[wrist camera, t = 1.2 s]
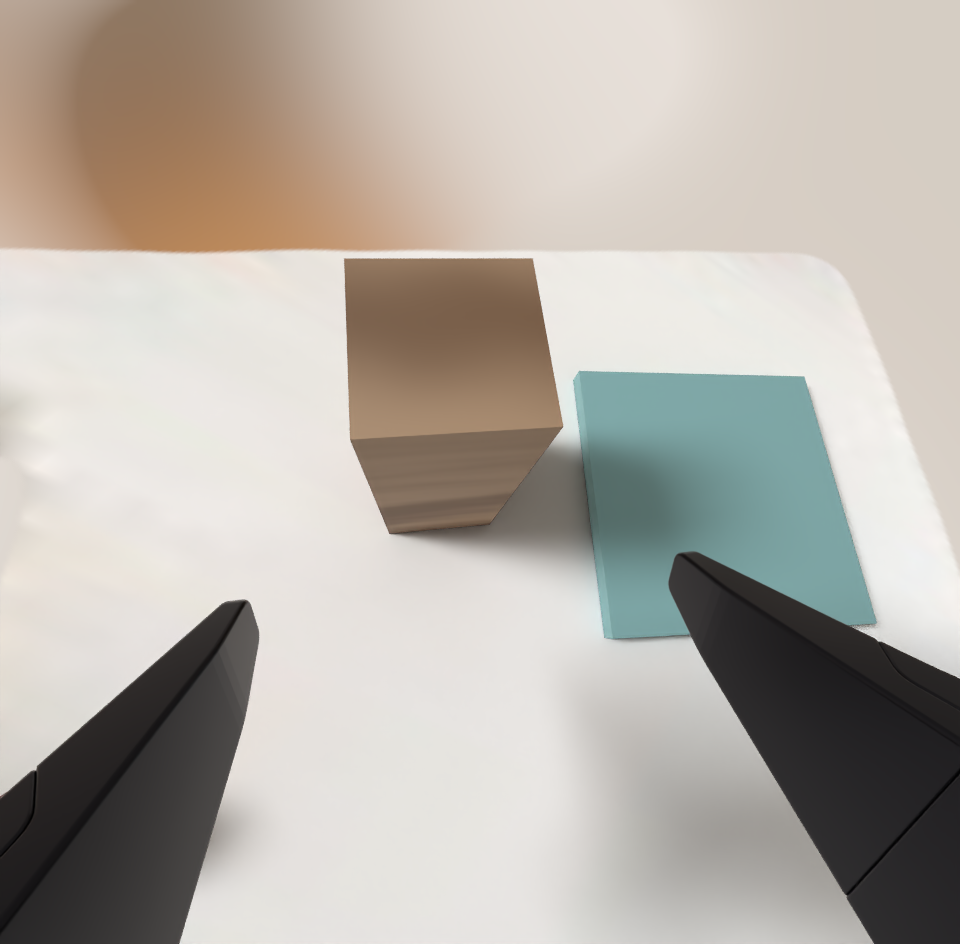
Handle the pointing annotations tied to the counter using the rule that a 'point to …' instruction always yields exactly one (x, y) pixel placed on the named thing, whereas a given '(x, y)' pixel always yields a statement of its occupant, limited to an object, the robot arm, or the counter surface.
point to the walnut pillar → (447, 385)
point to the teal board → (710, 493)
